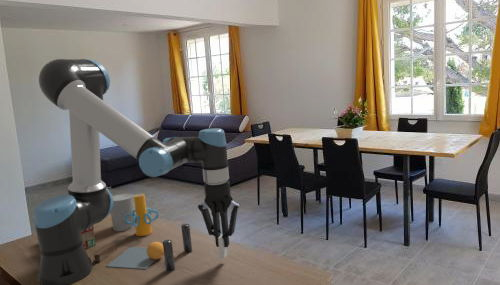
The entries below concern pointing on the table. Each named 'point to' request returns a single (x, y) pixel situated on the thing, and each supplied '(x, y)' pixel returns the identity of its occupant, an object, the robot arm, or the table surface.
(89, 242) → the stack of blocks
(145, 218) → the cylinder
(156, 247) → the ball
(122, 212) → the white tapered bucket
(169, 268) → the post
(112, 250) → the stopper wall
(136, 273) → the table surface
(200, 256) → the table surface
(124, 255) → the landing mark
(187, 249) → the post
